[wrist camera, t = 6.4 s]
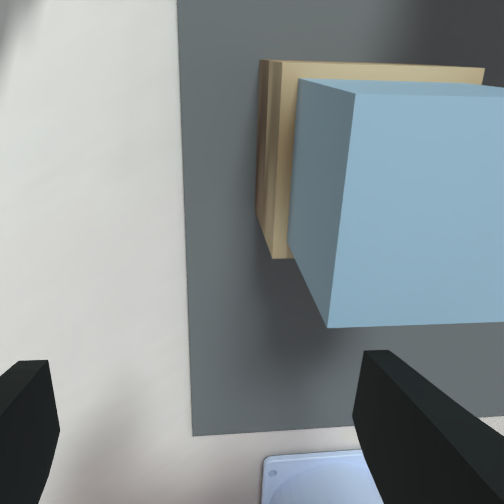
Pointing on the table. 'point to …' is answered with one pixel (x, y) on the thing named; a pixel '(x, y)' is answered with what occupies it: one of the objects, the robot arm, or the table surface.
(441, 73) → the slab upper
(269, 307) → the mat
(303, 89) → the cube
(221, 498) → the table surface
